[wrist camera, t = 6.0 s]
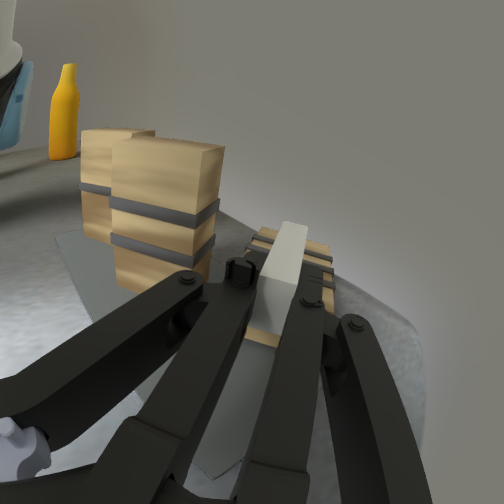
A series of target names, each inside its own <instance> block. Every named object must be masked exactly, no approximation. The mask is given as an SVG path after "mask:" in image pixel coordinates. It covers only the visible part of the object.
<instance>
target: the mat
mask: <svg viewBox="0 0 504 504" xmlns="http://www.w3.org/2000/svg"><path fill="white" fill-rule="evenodd" d="M55 239H56V242H57V245H58V247H59V250H60V252H61V255H62V257H63V260H64V262H65V265H66V267H67V270H68V272H69V274H70V276H71V279H72V281H73V283H74V285H75V288H76V290H77V292H78V294H79V296H80V298H81V300H82V302H83V304H84V306H85V308H86V310H87V312H88V314H89V316H90V318H91V320H92V322H93V323H95V322H96V321H98V320H100V319H101V318H103V317H104V316H106V315H107V314H109V313H111V312H112V311H114V310H115V309H117V308H118V307H120V306H122V305H123V304H125V303H126V302H128V301H130V300H131V299H133V298H134V297H136V296H138V295H139V294H138V293H135V292H133V291H130V290H128V289H125V288H123V287H120V286H118V285H117V279H116V270H115V259H114V247H113V245H110V244H107V243H104V242H101V241H98V240H95V239H92V238H89V237H86V236H84V229H81V230H77V231H73V232H69V233H64V234H61V235H57V236H55ZM225 270H226V266H224V265H223V264H221V263H220V262H218V261H217V260H216V259H214V258H213V257H211V259H210V269H209V279H208V283H222V282H223V280H224V277H225ZM276 349H277V348H276V347H272V346H269V345H266V344H262V343H259V342H256V341H253V340H250V339H246V338H244V340H243V342H242V345H241V347H240V350H239V352H238V354H237V357H236V359H235V362H234V364H233V367H232V369H231V371H230V374H229V376H228V379H227V381H226V383H225V386H224V388H223V390H222V393H221V395H220V398H219V400H218V402H217V405H216V407H215V409H214V412H213V414H212V416H211V419H210V421H209V423H208V426H207V428H206V430H205V432H204V435H203V437H202V439H201V442H200V444H199V446H198V448H197V451H196V453H195V455H194V457H193V461H194V462H195V463H196V464H197V465H198V466H199V467H200V468H201V469H202V470H203V471H204V472H205V473H206V474H207V475H208V476H209V477H210V478H211V479H212V480H214V479H216V478H217V477H219V476H220V475H222V474H223V473H224V472H226V471H227V470H228V469H230V468H231V467H233V466H234V465H235V464H236V463H238V462H239V461H240V460H242V459H243V458H244V457H245V455H246V452H247V449H248V445H249V442H250V439H251V436H252V433H253V430H254V427H255V423H256V420H257V417H258V414H259V410H260V407H261V404H262V400H263V397H264V394H265V390H266V387H267V383H268V380H269V376H270V373H271V369H272V365H273V362H274V358H275V352H276ZM177 352H178V351H177ZM177 352H176V353H177ZM176 353H175V354H174V355H173V356H172V357H171V358H170V359H169V360H167V361H166V362H165V363H164V364H163V365H162V366H161V367H159V368H158V369H157V370H156V371H155V372H154V373H153V374H152V375H150V376H149V377H148V378H147V379H146V380H145V381H144V382H142V383H141V384H140V385H139V386H138V387H137V388H136V389H134V390H135V391H136V392H137V394H138V395H139V397H140V398H141V399H142V401H143V402H144V403H145V402H146V400H147V399H148V397H149V396H150V394H151V393H152V391H153V389H154V388H155V386H156V385H157V383H158V381H159V380H160V378H161V377H162V375H163V374H164V372H165V370H166V369H167V367H168V366H169V364H170V363H171V361H172V359H173V358H174V356H175V355H176ZM322 386H323V385H322V380H321V375H319V384H318V391H319V389H320V388H321V387H322Z"/></svg>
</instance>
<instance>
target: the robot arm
mask: <svg viewBox="0 0 504 504" xmlns="http://www.w3.org/2000/svg"><path fill="white" fill-rule="evenodd" d="M16 2H17V0H0V151H1V150H5V149H8V148H12V147H13V146H15V145H16V144H17V143H18V142H19V140H20V138H21V135H22V131H23V128H24V123H25V117H26V112H27V106H28V101H29V95H30V89H31V84H32V78H33V72H34V67H33V66H34V64H33V62H29V61H25V62H22V47H21V46H20V45H19V44H18V43H16V42H14V41H12V32H13V23H14V22H13V21H14V15H15V8H16ZM307 232H308V226H304V225H300V224H296V223H293V222H289V221H285V220H284V221H283V223H282V226H281V228H280V230H279V232H278V235H277V237H276V239H275V241H274V244H273V246H272V248H271V250H270V253H269V254H266V253H262V252H258V251H255V250H251V251H249V252H247V253H246V254H245V255H244V257H234V258H231V259H229V260H228V261H227V263H226V270H225V277H224V280H223V282H222V283H206V282H204V278H203V277H202V275H201V274H199V273H198V272H195V271H192V270H180V271H177V272H175V273H173V274H172V275H170V276H168V277H167V278H165V279H163V280H162V281H160V282H159V283H157V284H155V285H154V286H152V287H150V288H149V289H147V290H146V291H144V292H142V293H141V294H139V295H138V296H136V297H134V298H133V299H131V300H130V301H128V302H126V303H125V304H123V305H122V306H120V307H118V308H117V309H115V310H114V311H112V312H111V313H109V314H107V315H106V316H104V317H103V318H101V319H100V320H98V321H96V322H95V323H93V324H92V325H90V326H89V327H87V328H85V329H84V330H82V331H81V332H79V333H78V334H76V335H75V336H73V337H72V338H70V339H69V340H67V341H65V342H64V343H62V344H61V345H59V346H58V347H56V348H55V349H53V350H52V351H50V352H49V353H47V354H46V355H44V356H43V357H41V358H40V359H38V360H37V361H35V362H34V363H32V364H31V365H29V366H28V367H26V368H25V369H23V370H22V371H20V372H19V373H18V374H16V375H14V376H10V377H7V378H3V379H0V504H306V500H307V496H308V491H309V484H310V476H309V474H308V472H307V471H306V465H307V459H308V454H309V448H310V442H311V436H312V429H313V422H314V415H315V408H316V400H317V392H318V384H319V375H321V380H322V385H323V390H324V395H325V401H326V406H327V412H328V417H329V423H330V429H331V435H332V441H333V447H334V453H335V460H336V466H337V473H338V480H339V487H340V495H341V502H342V504H433V503H432V499H431V495H430V490H429V487H428V483H427V479H426V475H425V472H424V468H423V465H422V461H421V458H420V454H419V451H418V448H417V445H416V442H415V438H414V435H413V432H412V429H411V426H410V423H409V420H408V418H407V415H406V412H405V409H404V406H403V404H402V401H401V398H400V395H399V393H398V390H397V387H396V385H395V382H394V380H393V377H392V375H391V372H390V370H389V367H388V365H387V362H386V360H385V357H384V355H383V353H382V350H381V348H380V345H379V343H378V341H377V338H376V336H375V334H374V332H373V329H372V327H371V325H370V324H369V322H368V321H367V320H366V319H364V318H363V317H361V316H359V315H355V314H346V315H344V316H342V318H341V319H340V318H337V317H335V316H334V315H332V314H330V313H329V312H328V311H326V309H325V304H324V302H323V300H322V294H323V274H324V273H323V271H322V270H321V268H320V267H317V266H314V265H310V264H306V263H302V259H303V254H304V249H305V243H306V238H307ZM248 324H249V325H248ZM247 326H248V327H252V328H255V329H259V330H262V331H266V332H269V333H273V334H276V335H280V336H281V337H280V340H279V343H278V346H277V349H276V352H275V358H274V362H273V365H272V369H271V373H270V376H269V380H268V383H267V387H266V390H265V394H264V397H263V400H262V404H261V407H260V410H259V414H258V417H257V420H256V423H255V427H254V430H253V433H252V436H251V439H250V442H249V445H248V449H247V452H246V455H245V458H244V461H243V464H242V467H241V469H240V472H239V475H238V478H237V481H236V484H235V486H234V488H233V491H232V493H231V496H230V498H229V500H222V499H210V498H202V497H198V496H196V495H194V494H193V493H191V492H189V491H188V490H186V489H185V488H183V484H184V482H185V479H186V476H187V473H188V469H189V467H190V464H191V462H192V460H193V457H194V455H195V453H196V451H197V448H198V446H199V444H200V442H201V439H202V437H203V435H204V432H205V430H206V428H207V426H208V423H209V421H210V419H211V416H212V414H213V412H214V409H215V407H216V405H217V402H218V400H219V398H220V395H221V393H222V390H223V388H224V386H225V383H226V381H227V379H228V376H229V374H230V371H231V369H232V367H233V364H234V362H235V359H236V357H237V354H238V352H239V350H240V347H241V345H242V342H243V340H244V337H245V335H246V330H247ZM177 351H178V352H177ZM176 352H177V353H176ZM175 353H176V355H175V356H174V358H173V359H172V361H171V363H170V364H169V366H168V367H167V369H166V370H165V372H164V374H163V375H162V377H161V378H160V380H159V381H158V383H157V385H156V386H155V388H154V389H153V391H152V393H151V394H150V396H149V397H148V399H147V400H146V402H145V404H144V405H143V407H142V408H141V410H140V411H139V413H138V414H137V415H136V416H129V417H128V418H126V419H125V420H124V421H123V422H122V424H121V425H120V426H119V428H118V429H117V431H116V433H115V434H114V436H113V437H112V439H111V440H110V442H109V443H108V445H107V447H106V448H105V450H104V451H103V453H102V454H101V456H100V457H99V459H98V461H97V462H96V463H93V464H89V465H85V466H82V467H78V468H74V469H70V470H66V471H62V472H58V473H54V474H49V475H44V476H39V477H35V475H36V474H37V472H39V471H40V470H42V469H46V468H49V467H50V466H51V458H50V453H51V452H53V451H56V450H59V449H60V448H62V447H64V446H66V445H68V444H69V443H71V442H72V441H74V440H75V439H76V438H78V437H79V436H80V435H82V434H83V433H84V432H85V431H86V430H88V429H89V428H90V427H91V426H92V425H93V424H95V423H96V422H97V421H98V420H99V419H101V418H102V417H103V416H104V415H105V414H106V413H108V412H109V411H110V410H111V409H112V408H114V407H115V406H116V405H117V404H118V403H119V402H121V401H122V400H123V399H124V398H125V397H126V396H127V395H129V394H130V393H131V392H132V391H133V390H134V389H136V388H137V387H138V386H139V385H140V384H141V383H142V382H144V381H145V380H146V379H147V378H148V377H149V376H150V375H152V374H153V373H154V372H155V371H156V370H157V369H158V368H159V367H161V366H162V365H163V364H164V363H165V362H166V361H167V360H169V359H170V358H171V357H172V356H173V355H174V354H175Z"/></svg>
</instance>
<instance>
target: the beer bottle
mask: <svg viewBox="0 0 504 504" xmlns="http://www.w3.org/2000/svg"><path fill="white" fill-rule="evenodd" d="M76 66H77V64H65V65H64V66H63V70H62V74H61V78H60V82H59V85H58V87H57V89H56V91H55V93H54V95H53V98H52V101H51V112H50V129H49V130H50V131H49V159H50V160H64V159H69V158H73V157H75V155H76V138H77V119H78V108H79V92H78V88H77V86H76Z"/></svg>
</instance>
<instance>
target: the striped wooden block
mask: <svg viewBox="0 0 504 504" xmlns="http://www.w3.org/2000/svg"><path fill="white" fill-rule="evenodd" d="M278 232H279V231H276V230H272V229H269V228H265V227H262V228H261V229H260V231H259V232H258V234H254V236H253V238H252V242H251V244H250V243H248V245H247V246H246V249H245V253H244V255H245V254H246V253H247V252H249V251H251V250H255V251H258V252H262V253H266V254H269V253H270V250H271V248H272V246H273V244H274V241H275V239H276V237H277V235H278ZM244 255H240V256H239V257H244ZM332 261H333V260H332V257H330V252H329V246H326V245H323V244H319V243H316V242H313V241H310V240H306V243H305V249H304V254H303V259H302V263H306V264H310V265H314V266H317V267H320V268H321V270H322V271H323V273H324V274H323V294H322V300H323V302H324V304H325V309H326V311H328V312H329V313H330V314H332V315H334V297H333V293H334V291H335V289H336V288H335V282H332V277H333V275H334V269H333V268H331V264H332ZM248 325H249V324H248ZM280 337H281V336H280V335H276V334H273V333H269V332H266V331H262V330H259V329H255V328H252V327H248V326H247V330H246V335H245V337H244V338H246V339H250V340H253V341H256V342H259V343H262V344H266V345H269V346H272V347H276V348H277V346H278V343H279V340H280Z"/></svg>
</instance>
